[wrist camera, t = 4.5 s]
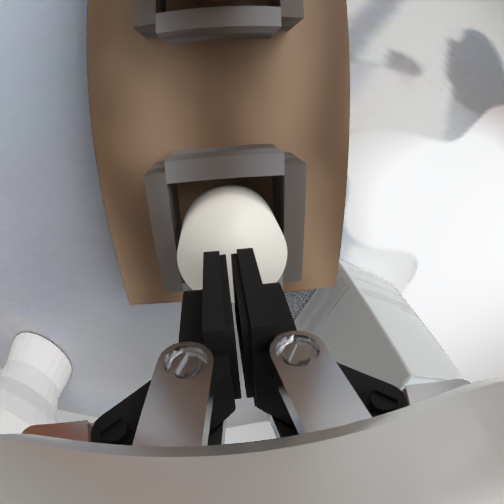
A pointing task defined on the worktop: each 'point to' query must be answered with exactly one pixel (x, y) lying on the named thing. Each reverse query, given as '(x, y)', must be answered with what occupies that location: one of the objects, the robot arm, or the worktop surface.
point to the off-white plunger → (230, 233)
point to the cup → (31, 383)
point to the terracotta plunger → (214, 0)
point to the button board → (219, 126)
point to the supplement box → (374, 330)
